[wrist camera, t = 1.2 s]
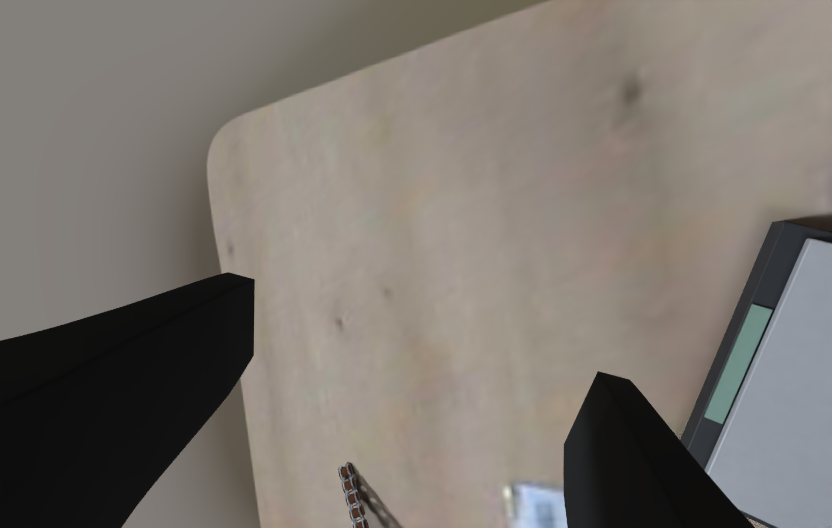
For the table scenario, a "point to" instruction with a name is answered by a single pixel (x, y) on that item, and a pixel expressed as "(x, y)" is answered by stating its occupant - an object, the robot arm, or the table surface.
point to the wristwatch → (352, 497)
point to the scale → (774, 388)
